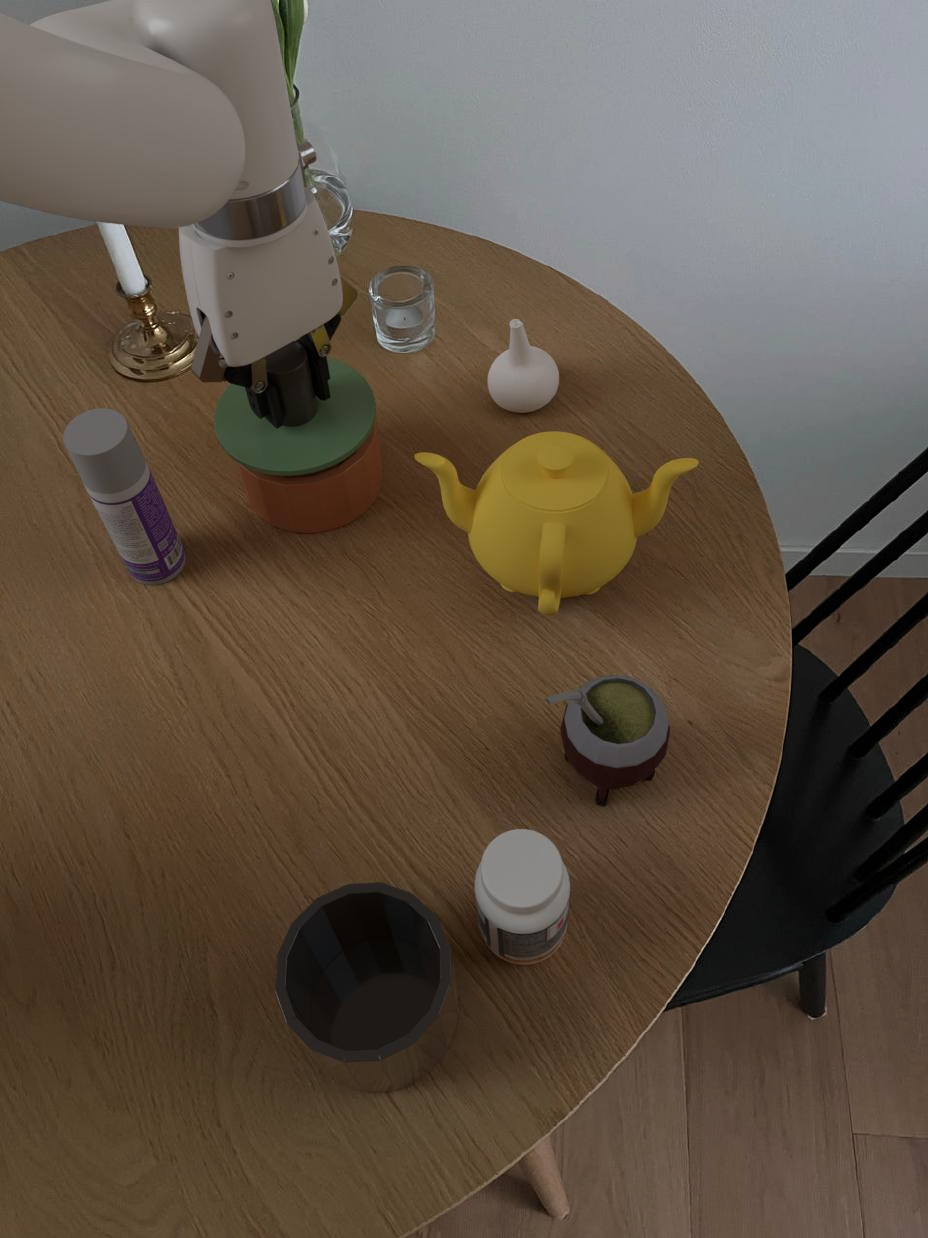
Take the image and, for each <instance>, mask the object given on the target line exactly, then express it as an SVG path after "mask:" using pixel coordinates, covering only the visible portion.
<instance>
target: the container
mask: <svg viewBox="0 0 928 1238" xmlns="http://www.w3.org/2000/svg"><path fill="white" fill-rule="evenodd" d="M62 439H63V440H62V441H63V443H64V446H65V448H66V450H67V452H68V454H69V457H70V458H71V461H72V463H73V465H74V467H75V469H76V471H77V474H78V475H79V478H80V479H81V482H82V483H83V486H84V489H85V490H86V492H87V494H88V496H89V498H90V499H91V503H92V504H93V506H94V507H95V510H96V512H97V513H98V516H99V518H100V520H101V522H102V523H103V525H104V527H105V529H106V531H107V534H108V535H109V537H110V538H111V541H112V543H113V545H114V547H115V548H116V550H117V552H118V554H119V556H120V558H121V560H122V561H123V564H124V566H125V568H126V569H127V572H128V573H129V575H130V576H131V578H132V579H133V580H134V581H136V582H138V583H140V584H143V585H146V586H157V585H161V584H165V583H168V582H170V581H171V580H173V579H175V578H176V577H177V576H178V575H179V574H180V573H181V572H182V571H183V569H184V567H185V564H186V561H187V554H186V551H185V548H184V546H183V543H182V541H181V539H180V538H181V537H180V536H179V534H178V531H177V529H176V527H175V524H174V523H173V520H172V517H171V515H170V513H169V511H168V509H167V506H166V504H165V502H164V499H163V497H162V494H161V492H160V490H159V488H158V484H157V482H156V481H155V478H154V476H153V474H152V471H151V469H150V466H149V464H148V463H147V460H146V458H145V456H144V454H143V452H142V449H141V447H140V446H139V444H138V441H137V439H136V437H135V436H134V433H133V431H132V429H131V426H130V423H128V420H127V418H126V417H125V415H123V414H122V413H121V412H120V411H117V410H115V409H113V408H105V407H103V408H102V407H99V408H93V409H90V410H86V411H84V412H81V413H79V414H77V415H76V416H75V417H73V418H72V419H71V421H69V423H67V425H66V427H65V428H64V431H63V435H62Z"/></svg>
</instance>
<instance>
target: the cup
mask: <svg viewBox="0 0 928 1238" xmlns="http://www.w3.org/2000/svg"><path fill="white" fill-rule="evenodd" d="M275 961H276V965H275V977H274V979H275V980H274V993H275V996H276V999H277V1002H278V1004H279V1007H280V1010H281V1013H282V1016H283V1019H284V1021H285V1024H286V1026H287V1027H288V1028H289V1030H290V1031H291V1032H292V1033H293V1035H294V1036H295V1037H296V1038H297V1040H298V1041H299V1043H300V1044H301V1045H302V1047H304V1049H305V1050H306V1052H307V1053H308V1054H309V1056H310V1057H311V1058H312V1059H313V1060H314V1061H315V1062H316V1063H317V1064H318V1065H319V1067H320V1068H321V1069H322V1070H323V1071H324V1072H325V1073H326V1074H327V1075H328V1076H329V1077H330V1078H331V1079H332V1080H334V1081H336V1082H338V1083H339V1084H341V1085H343V1086H345V1087H347V1088H350V1089H352V1090H356V1091H359V1092H365V1093H370V1094H371V1093H374V1094H375V1093H376V1094H381V1093H390V1092H391V1093H392V1092H394V1091H398V1090H402V1089H404V1088H407V1087H409V1086H411V1085H413V1084H415V1083H417V1082H419V1081H421V1080H422V1079H423V1078H424V1077H426V1076H427V1075H428V1074H430V1072H432V1071H433V1070H434V1069H435V1067H436V1066H438V1065H439V1063H440V1061H441V1060H442V1059H443V1058H444V1057H445V1055H446V1053H447V1052H448V1049H449V1048H450V1046H451V1045H452V1041H453V1039H454V1037H455V1034H456V1031H457V1030H456V1029H457V1026H458V1022H459V1018H460V1014H459V1009H460V1008H459V1006H460V1005H459V988H458V981H457V976H456V975H457V974H456V970H455V964H454V959H453V953H452V948H451V944H450V942H449V940H448V937H447V935H446V933H445V930H444V928H443V926H442V924H441V922H440V920H439V918H438V916H437V915H436V914H435V913H434V911H432V910H431V909H430V907H428V906H427V905H426V904H425V903H424V902H423V901H421V899H419V897H417V896H416V895H415V894H414V893H412V892H411V891H408V890H404V889H402V888H399V887H396V886H393V885H390V884H387V883H384V882H380V881H379V882H360V883H359V882H358V883H348V884H345V885H342V886H340V887H338V888H336V889H334V890H331V891H329V892H327V893H325V894H322V895H320V896H318V897H317V898H315V899H314V900H313V901H312V902H311V903H310V904H309V905H308V906H306V908H305V909H304V910H303V911H302V912H301V913H300V914H299V915H298V916H297V917H296V918H295V919H294V920H293V921H292V923H291V924H290V926H289V928H288V930H287V932H286V934H285V936H284V939H283V940H282V943H281V945H280V947H279V950H278V952H277V954H276V960H275Z"/></svg>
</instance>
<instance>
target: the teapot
mask: <svg viewBox="0 0 928 1238" xmlns="http://www.w3.org/2000/svg"><path fill="white" fill-rule="evenodd" d="M414 459H415V461H416V462H418V463H419V464H421V465H422V466H425V468H427V469H429V470H431V471H432V473H434V474H435V475H436V478H437V479H438V483H439V486H440V487H439V488H440V493H441V501H442V506H443V508H444V510H445V511H444V512H445V513H446V515H447V518H449V519H450V522H452V523H453V524H454V525H455V526H456V527H457V528H459V529H461V530H462V531H464V532H466V533H467V537H468V542H469V546H470V549H471V551H472V553H473V555H474V558H475V559H476V560H477V562H478V563H479V565H480V566H481V568H482V569H483V571H485V572H486V573H487V574H488V575H489V576H490V577H491V578H492V579H494V580H495V581H496V582H498V583H499V584H500V586H501V587H502V588H503V590H505V591H507V592H510V593H520V594H523V595H526V596H529V597H530V596H531V597H536V598H538V603H537V611H538V612H539V613H540V614H542V615H544V616H553V615H556V614H557V613H558V611H559V608H560V602H561V599H566V598H572V597H577V596H580V595H592V594H595V593H597V592H598V591H600V589H601V587H603V586H605V585H606V584H608V583H609V582H610V581H612V580H614V578H616V577H617V576H618V575H619V574H620V573H621V572H622V570H623V569H624V568H625V567H626V566H627V564H628V563H629V561H630V559H632V556H633V554H634V552H635V549H636V545H637V541H638V538H639V537H641V536H643V535H646V534H647V533H649V532H650V531H652V530H653V529H654V528H655V527H656V526H657V525H658V524H659V523H660V522H661V520H662V518H663V516H664V514H665V511H666V508H667V504H668V500H669V495H670V493H671V492H670V491H671V489H672V486H673V484H674V483H675V481H676V480H677V479H678V478H679V477H680V476H682V475H685V474H686V473H688V472H690V471H692V470H694V469H695V468H697V467H698V465H699V463H700V462H699V460H698V459H697V458H693V457H681V458H675V459H672V460H670V461H667V462H666V463H664V464H662V465H661V466H660V467H659V468H658V469H657V470H656V471H655V473H654V475H653V477H652V480H651V484H650V486H649V487H647V488H645V489H643V490H640V491H638V492H634V493H633V490H632V489H631V487H630V484H629V482H628V480H627V478H626V477H625V475H624V473H623V472H622V470H621V469H620V467H618V465H617V464H616V463H615V462H614V461H613V459H612V458H611V457H610V456H609V455H608V454H607V453H606V452H605V451H604V450H602V449H601V448H600V447H599V446H598V445H596V444H595V443H594V442H592V441H591V440H589V439H587V438H585V437H584V436H581V435H578V434H575V433H571V432H566V431H556V430H555V431H554V430H553V431H552V430H551V431H542V432H538V433H537V432H536V433H533V434H531V435H528V436H525V437H523V438H521V439H520V440H519V441H517V442H515V443H513V444H512V445H511V446H509V447H508V448H507V449H506V450H505V451H503V453H501V454H500V455H499V456H498V457H497V458H496V459H495V460H494V461H493V462H492V463H491V464H490V466H489V467H488V468H487V469H486V471H485V472H484V473H483V475H482V477H481V478H480V480H479V481H478V484H477V486H476V487H475V489H473V488H471V487H468V486H466V485H464V484H462V483H461V482H460V480H459V476H458V472H457V471H458V470H457V469H456V467H455V466H454V464H453V463H452V462H451V461H450V460H449V459H447V458H446V457H444V456H442V455H441V454H437V453H433V452H424V451H423V452H417V453H415V454H414Z"/></svg>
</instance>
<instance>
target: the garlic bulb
mask: <svg viewBox="0 0 928 1238" xmlns="http://www.w3.org/2000/svg"><path fill="white" fill-rule="evenodd" d="M509 329H510V332H509V346H508V349H506V350H505V351H503V352H502V353H500V354H499V355H498V356H497V357H496V358H495V359H494V361H493V362H492V364H491V365H490V368H489V370H488V373H487V389H488V392H489V396H490V397H491V399H492V400H493V401H494V403H495V404H496V405H497V406H498V407H500V408H502V409H504V410H506V411H509V412H512V413H517V414H525V413H531V412H535V411H538V410H540V409H542V408H543V407H545V406H546V405H547V404H549V403H550V402H551V401H552V399H554V397H555V396H556V394H557V392H558V389H559V385H560V372H559V368H558V365H557V363H556V362H555V360H554V358H553V357H552V356H551V355H550V354H549V353H548V352H547V351H545V350H543V348H540V347H536V346H533V345H531V344H530V342H529V338H528V335H527V332H526V329H525V327H524V322H522V321H521V320H520V319H519V318H513V319H511V320H510V321H509Z"/></svg>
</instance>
